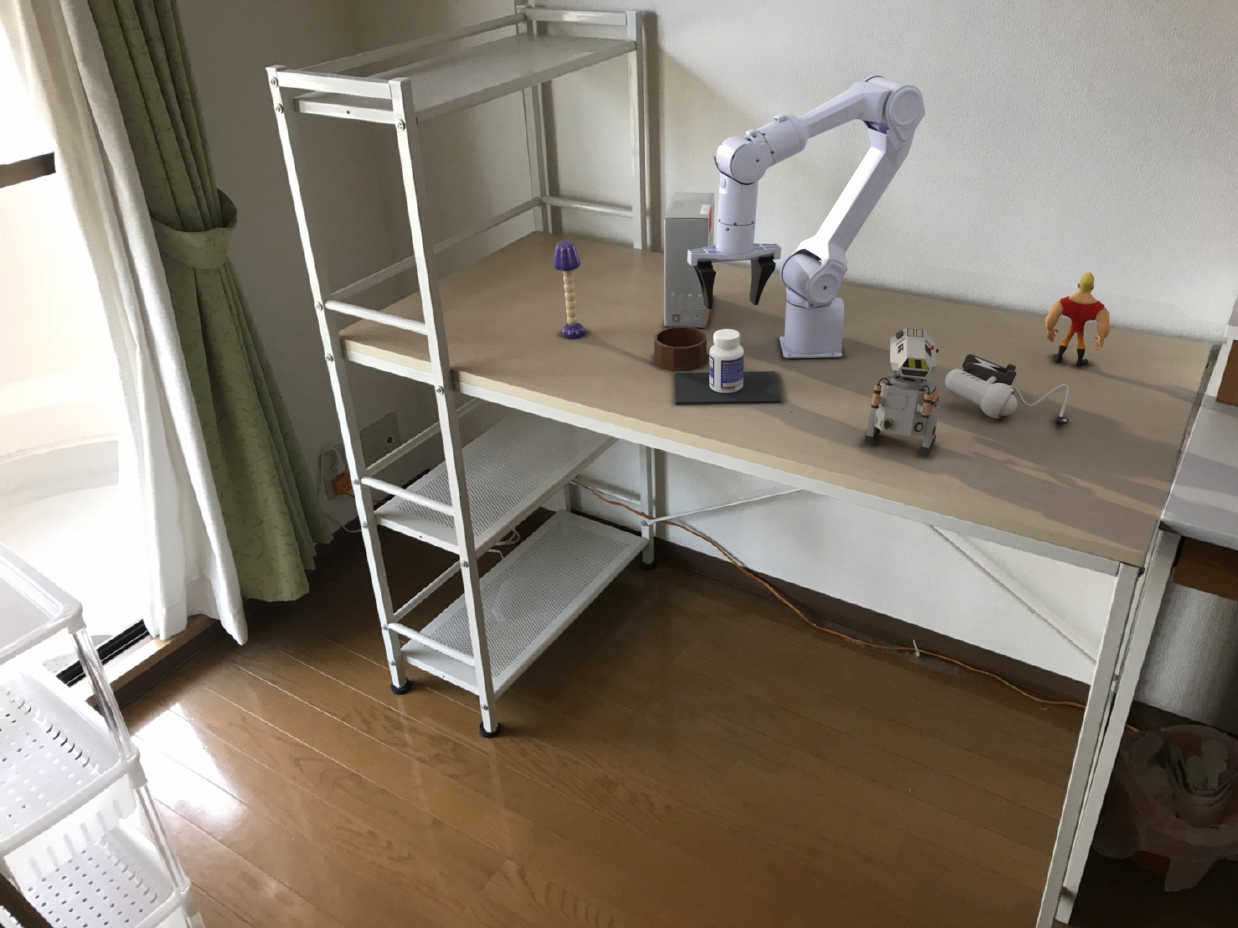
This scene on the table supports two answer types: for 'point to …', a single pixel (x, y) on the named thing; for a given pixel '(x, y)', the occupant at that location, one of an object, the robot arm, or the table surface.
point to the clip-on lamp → (992, 387)
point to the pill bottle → (726, 362)
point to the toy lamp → (568, 285)
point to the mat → (699, 392)
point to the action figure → (1079, 318)
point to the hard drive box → (682, 232)
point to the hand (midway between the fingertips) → (731, 304)
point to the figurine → (907, 391)
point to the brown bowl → (680, 348)
